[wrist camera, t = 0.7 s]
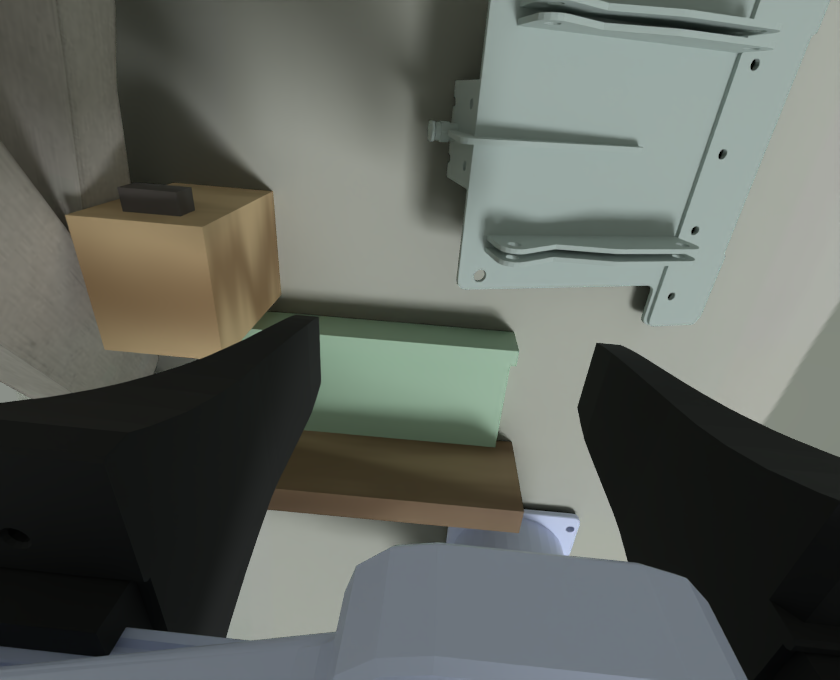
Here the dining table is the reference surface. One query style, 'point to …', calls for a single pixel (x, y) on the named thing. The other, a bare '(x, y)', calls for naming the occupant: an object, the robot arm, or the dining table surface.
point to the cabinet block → (178, 266)
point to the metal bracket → (618, 140)
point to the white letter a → (56, 192)
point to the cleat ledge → (409, 379)
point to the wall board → (402, 481)
